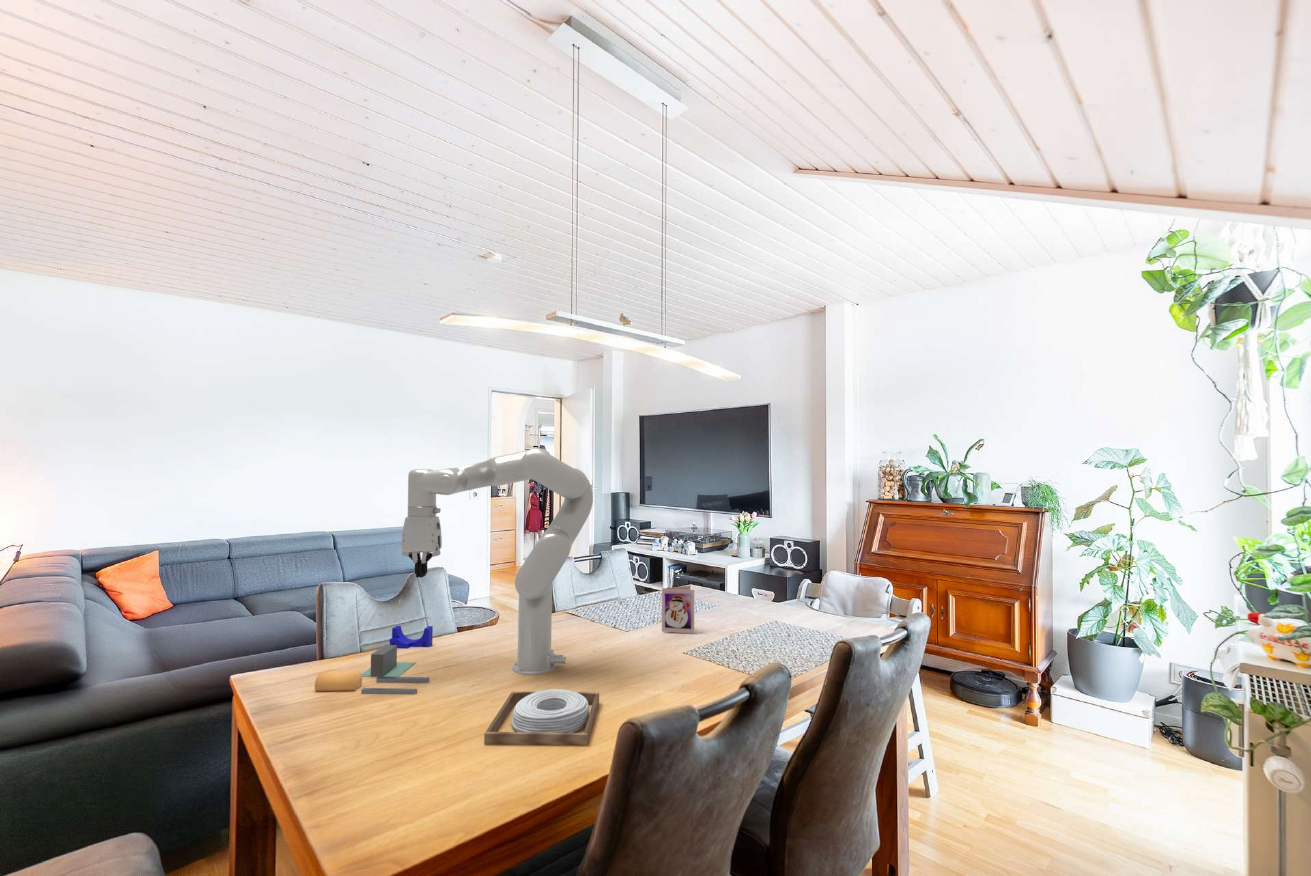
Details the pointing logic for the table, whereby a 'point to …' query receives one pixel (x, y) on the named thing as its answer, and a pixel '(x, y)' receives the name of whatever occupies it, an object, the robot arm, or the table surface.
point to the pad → (393, 670)
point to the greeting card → (678, 609)
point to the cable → (551, 712)
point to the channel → (395, 690)
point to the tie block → (383, 660)
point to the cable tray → (538, 737)
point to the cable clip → (405, 642)
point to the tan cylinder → (338, 681)
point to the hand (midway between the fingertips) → (420, 576)
